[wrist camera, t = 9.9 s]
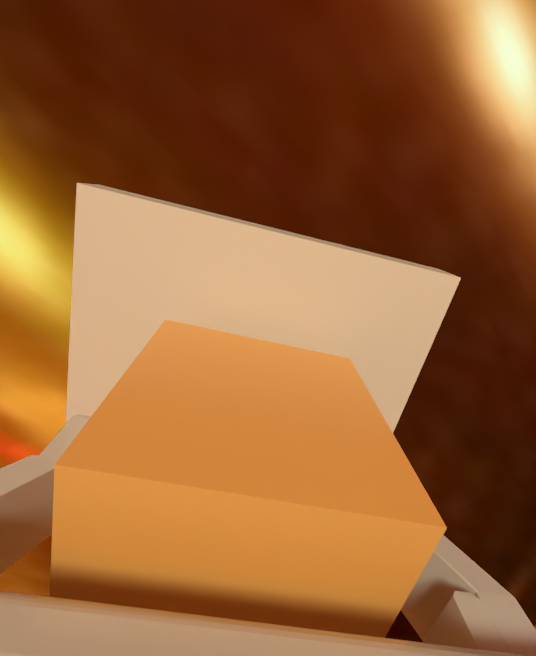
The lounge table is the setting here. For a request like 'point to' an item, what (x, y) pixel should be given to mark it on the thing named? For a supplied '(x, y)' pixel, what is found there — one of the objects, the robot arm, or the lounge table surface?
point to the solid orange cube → (241, 490)
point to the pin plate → (239, 294)
